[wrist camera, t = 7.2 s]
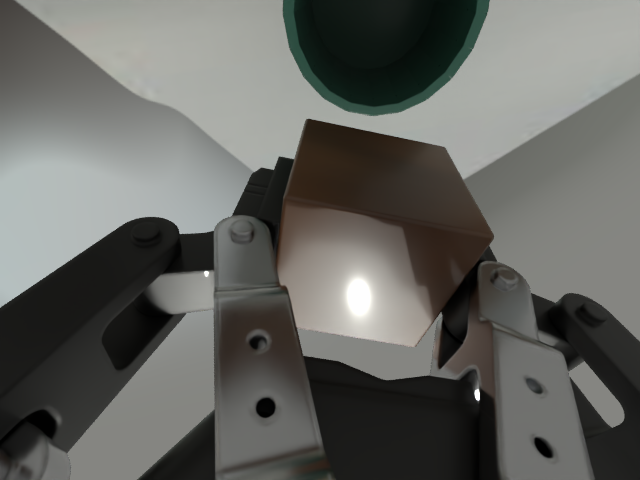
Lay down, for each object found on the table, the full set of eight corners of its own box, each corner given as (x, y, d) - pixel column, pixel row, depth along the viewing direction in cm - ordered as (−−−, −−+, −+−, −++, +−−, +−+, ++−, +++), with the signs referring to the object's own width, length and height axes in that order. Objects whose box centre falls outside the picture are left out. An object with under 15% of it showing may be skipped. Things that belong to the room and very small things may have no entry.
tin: (278, 1, 25) (243, 12, 17) (384, -148, 19) (408, -236, 11) (364, 100, 29) (369, 148, 21) (470, 0, 24) (530, 12, 16)
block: (289, 229, 13) (267, 324, 9) (306, 117, 10) (283, 196, 6) (397, 248, 13) (415, 348, 10) (445, 146, 10) (496, 237, 7)
